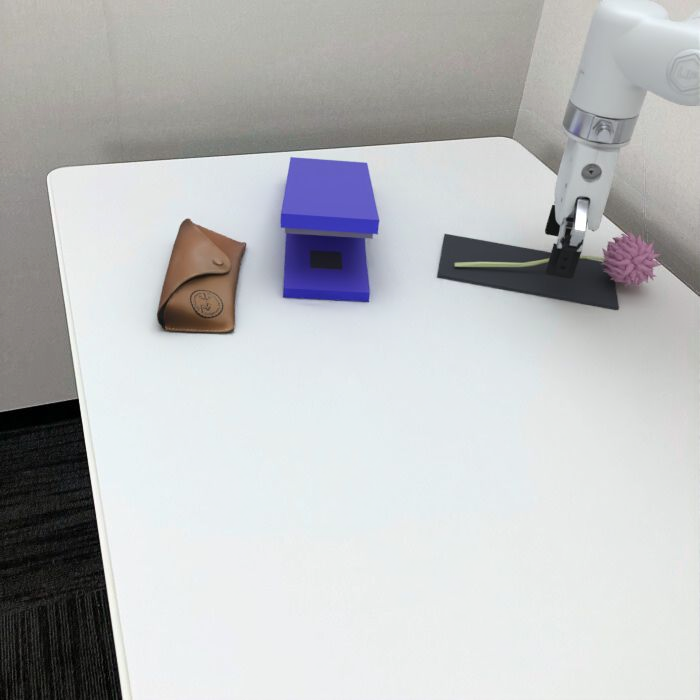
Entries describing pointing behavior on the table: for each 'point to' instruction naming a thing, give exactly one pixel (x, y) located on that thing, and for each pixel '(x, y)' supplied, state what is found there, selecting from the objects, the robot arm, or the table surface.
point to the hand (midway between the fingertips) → (557, 254)
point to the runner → (525, 272)
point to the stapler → (327, 229)
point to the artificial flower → (608, 260)
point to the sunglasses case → (200, 282)
